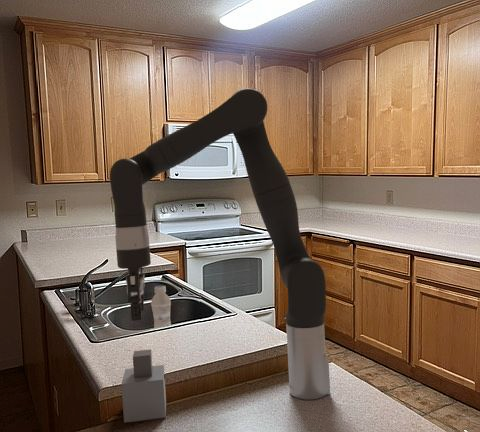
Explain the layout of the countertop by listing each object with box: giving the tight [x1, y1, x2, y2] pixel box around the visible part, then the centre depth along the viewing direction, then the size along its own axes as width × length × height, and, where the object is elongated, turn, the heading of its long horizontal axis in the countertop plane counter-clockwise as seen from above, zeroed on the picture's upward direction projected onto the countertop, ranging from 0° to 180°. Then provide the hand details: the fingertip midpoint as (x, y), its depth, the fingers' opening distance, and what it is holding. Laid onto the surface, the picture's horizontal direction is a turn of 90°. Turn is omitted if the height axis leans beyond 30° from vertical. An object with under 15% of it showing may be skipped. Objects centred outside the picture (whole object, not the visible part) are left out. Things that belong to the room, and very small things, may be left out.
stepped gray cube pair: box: [120, 349, 167, 424], centre depth 108 cm, size 9×9×14 cm
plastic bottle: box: [150, 285, 172, 329], centre depth 156 cm, size 6×7×20 cm
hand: (138, 315), depth 108 cm, fingers open, 8 cm apart
